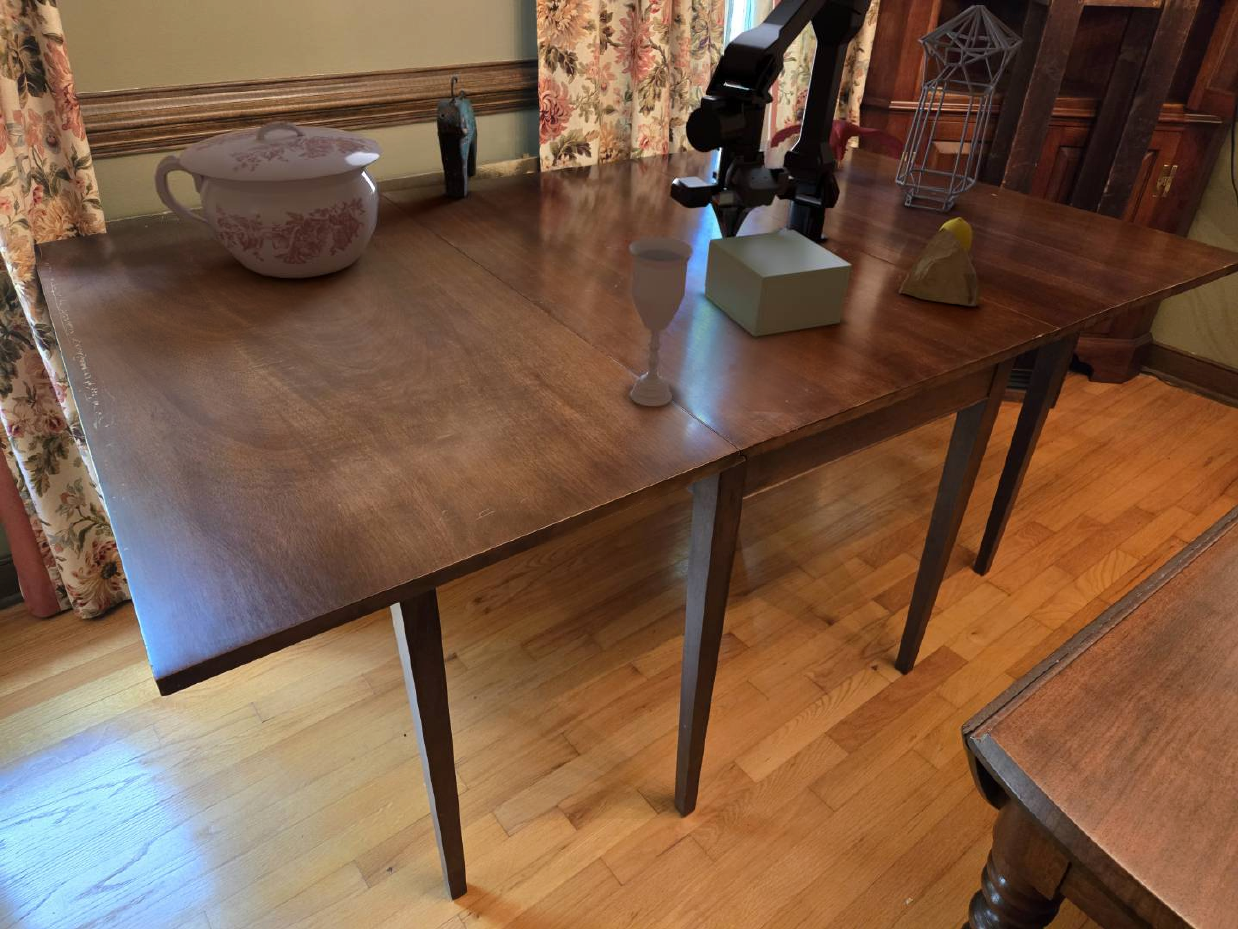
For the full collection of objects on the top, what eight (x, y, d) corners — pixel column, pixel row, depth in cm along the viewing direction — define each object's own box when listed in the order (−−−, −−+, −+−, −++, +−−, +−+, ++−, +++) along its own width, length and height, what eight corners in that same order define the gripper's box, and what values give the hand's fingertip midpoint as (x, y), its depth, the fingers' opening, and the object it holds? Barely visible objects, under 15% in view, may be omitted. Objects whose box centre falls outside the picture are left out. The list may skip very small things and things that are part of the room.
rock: (1001, 289, 123) (952, 258, 129) (997, 252, 116) (945, 221, 123) (945, 337, 124) (899, 304, 130) (937, 303, 117) (889, 270, 123)
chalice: (620, 380, 101) (626, 236, 90) (675, 379, 101) (687, 237, 91) (625, 411, 95) (632, 261, 84) (683, 411, 95) (698, 261, 85)
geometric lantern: (978, 203, 166) (1034, 6, 146) (959, 223, 155) (1017, 13, 135) (901, 188, 173) (945, -3, 153) (877, 207, 162) (921, 3, 142)
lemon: (966, 272, 135) (980, 224, 130) (931, 268, 135) (944, 220, 131) (961, 260, 139) (975, 213, 134) (928, 257, 140) (940, 210, 135)
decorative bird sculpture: (765, 179, 190) (771, 139, 175) (769, 143, 192) (776, 101, 177) (890, 190, 187) (907, 150, 172) (893, 153, 188) (911, 111, 174)
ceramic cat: (468, 200, 155) (461, 85, 144) (434, 198, 155) (424, 83, 144) (484, 170, 171) (478, 65, 160) (453, 169, 171) (445, 64, 160)
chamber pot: (430, 251, 133) (417, 115, 121) (312, 313, 113) (282, 157, 101) (296, 220, 142) (271, 91, 130) (163, 274, 122) (119, 126, 110)
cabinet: (704, 295, 123) (709, 239, 118) (784, 284, 128) (793, 229, 123) (754, 337, 112) (762, 277, 107) (840, 322, 117) (852, 264, 112)
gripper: (709, 159, 109) (697, 270, 118) (827, 150, 115) (807, 257, 125) (673, 137, 117) (664, 242, 127) (785, 130, 124) (769, 231, 133)
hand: (727, 244), depth 127 cm, fingers closed, pressing on drawer
